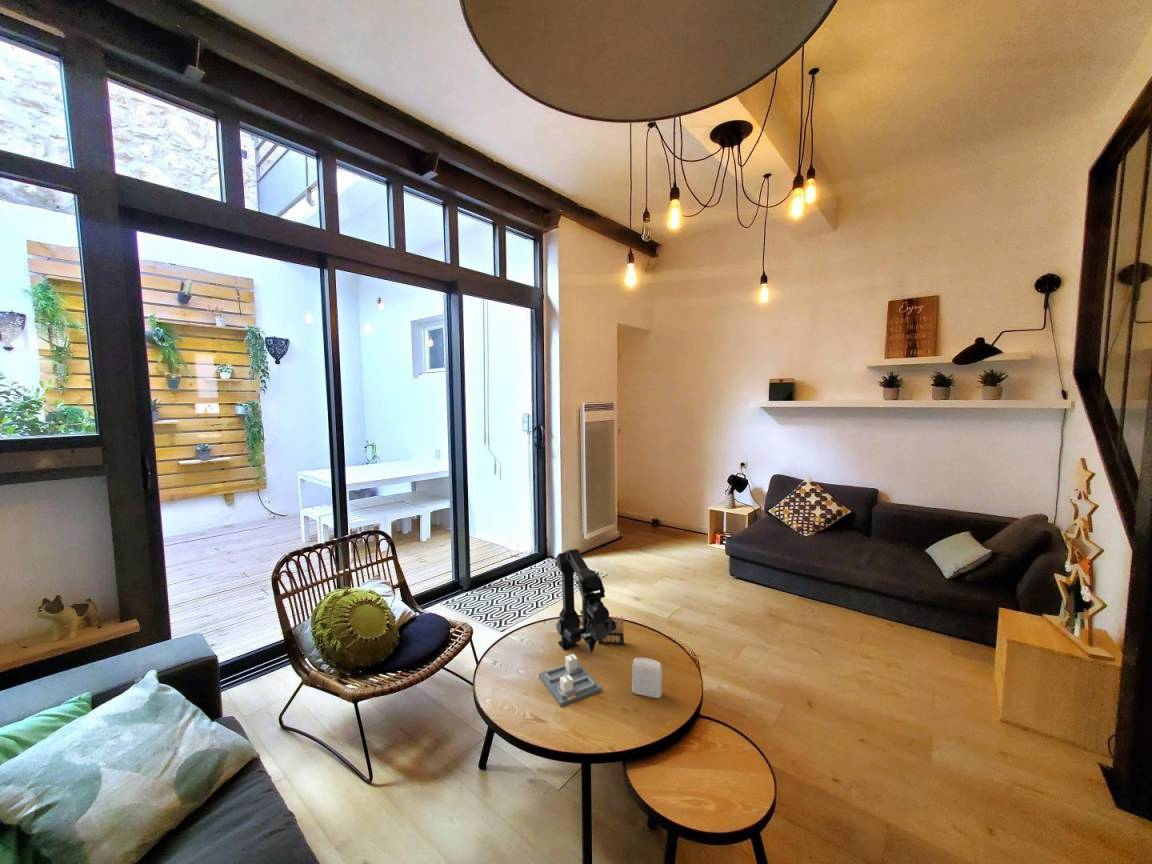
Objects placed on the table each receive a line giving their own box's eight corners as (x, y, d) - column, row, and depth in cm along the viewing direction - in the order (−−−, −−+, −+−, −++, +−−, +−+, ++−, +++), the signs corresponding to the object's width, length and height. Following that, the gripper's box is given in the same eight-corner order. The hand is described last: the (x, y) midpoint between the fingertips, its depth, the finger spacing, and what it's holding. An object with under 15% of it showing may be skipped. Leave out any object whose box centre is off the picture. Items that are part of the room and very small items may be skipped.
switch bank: (538, 676, 164) (538, 671, 164) (576, 663, 171) (576, 658, 171) (560, 706, 148) (560, 700, 148) (601, 690, 155) (601, 684, 155)
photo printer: (662, 691, 154) (662, 658, 153) (661, 700, 150) (661, 665, 149) (633, 686, 157) (632, 653, 156) (631, 694, 153) (630, 660, 152)
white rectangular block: (565, 668, 166) (565, 655, 166) (573, 665, 168) (573, 652, 167) (569, 673, 163) (568, 659, 163) (577, 670, 165) (577, 656, 164)
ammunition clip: (598, 644, 184) (597, 616, 183) (598, 641, 186) (598, 614, 185) (624, 645, 183) (623, 617, 182) (624, 642, 185) (623, 615, 184)
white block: (560, 690, 154) (559, 675, 154) (569, 687, 156) (568, 672, 155) (564, 696, 151) (564, 681, 151) (573, 692, 153) (573, 677, 152)
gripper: (578, 627, 145) (579, 672, 147) (625, 612, 154) (625, 655, 156) (562, 612, 155) (563, 655, 157) (607, 600, 164) (608, 640, 165)
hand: (591, 651), depth 158 cm, fingers closed
